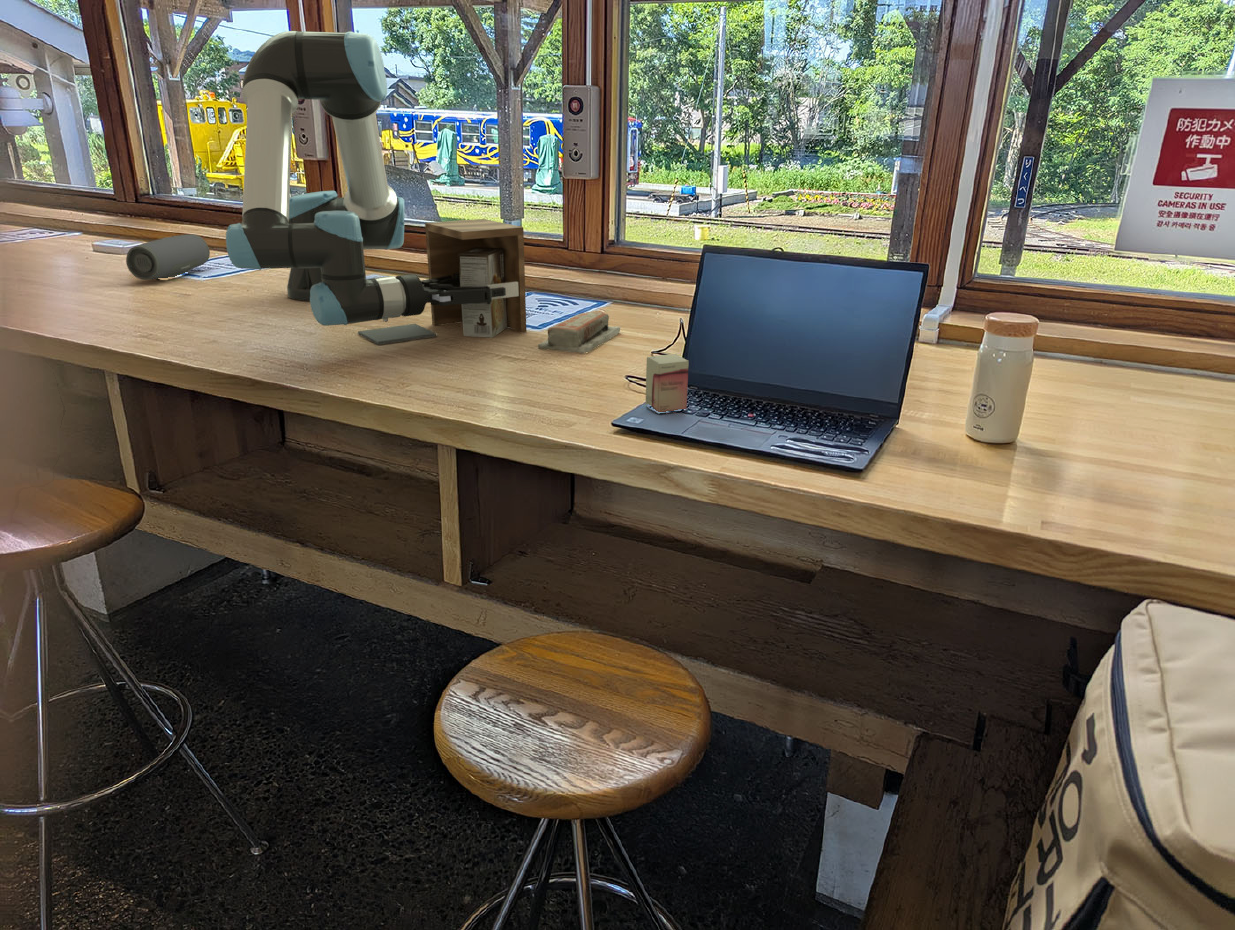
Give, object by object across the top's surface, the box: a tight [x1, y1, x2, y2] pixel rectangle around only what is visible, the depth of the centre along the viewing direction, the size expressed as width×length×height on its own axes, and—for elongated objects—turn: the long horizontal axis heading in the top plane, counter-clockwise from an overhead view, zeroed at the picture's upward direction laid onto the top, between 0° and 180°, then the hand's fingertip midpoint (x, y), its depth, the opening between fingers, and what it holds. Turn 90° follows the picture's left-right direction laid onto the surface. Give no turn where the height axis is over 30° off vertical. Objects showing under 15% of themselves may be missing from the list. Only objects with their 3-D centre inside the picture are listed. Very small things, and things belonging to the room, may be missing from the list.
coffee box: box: [458, 247, 508, 339], centre depth 170 cm, size 9×6×16 cm
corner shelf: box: [424, 218, 527, 334], centre depth 172 cm, size 16×13×20 cm
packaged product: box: [537, 310, 621, 354], centre depth 167 cm, size 18×5×10 cm
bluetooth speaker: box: [125, 233, 211, 281], centre depth 223 cm, size 23×9×10 cm, turn 172°
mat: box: [357, 323, 438, 346], centre depth 170 cm, size 10×12×1 cm
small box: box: [645, 353, 690, 412], centre depth 128 cm, size 5×4×8 cm
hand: (503, 284), depth 172 cm, fingers closed on coffee box, 10 cm apart
